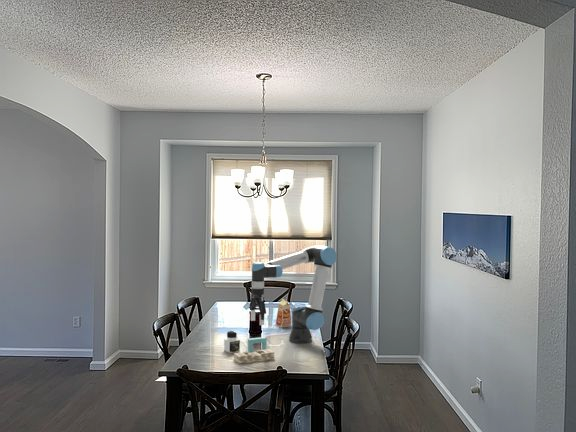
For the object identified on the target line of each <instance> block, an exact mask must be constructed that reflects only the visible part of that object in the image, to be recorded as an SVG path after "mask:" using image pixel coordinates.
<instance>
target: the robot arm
mask: <svg viewBox="0 0 576 432" xmlns="http://www.w3.org/2000/svg"><path fill="white" fill-rule="evenodd" d="M337 260H338V253H337V252H336V249H334V248H333V247H331V246H329V245H320V244H319V245H318V244H316V245H312V246H309V247H307V248H306V247H305V248H303V249H301V251H299V252H295V253H292V254H289V255H285V256H282V257H279V258H274V259H273V260H270V261H266V262H261V261H259V262H257V261H256V262H252V264H251V284H250V285H251V296H250V297H251V299H250V302H249V307H248V308H249V309H250V321H251V322H253V321H254V322H255V321H256V307H258V310H259V326H264V325H265V315H266V314H267V309H266V304H265V297H262V296H263V295H264V294H265V279H268V278H279V277H280V278H281V277H282V275H283V270H285V269H289V268H291V267H295V266H299V265H300V264H303V263H304V264H310V263H313V266H314V268H315V270H314V273H313V279H312V284H311V289H310V292H309V293H310V294H309V299H308V304H306V305H296V306H292V309H291V330H290V333H289V337H288V340H289V342H290V343H295V344H306V343H307V344H308V343H310V342H313V337H312V333H311V331H317V330H320V328H322V327H323V326H324V323H325V316H324V314H323V311H324V310H323V307H322V305H323V300H324V295H325V290H326V285H327V280H328V276H329V275H328V274H329V271H330V270H331V269H332V267H333V265H334V264H335V263H336V261H337Z"/></svg>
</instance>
